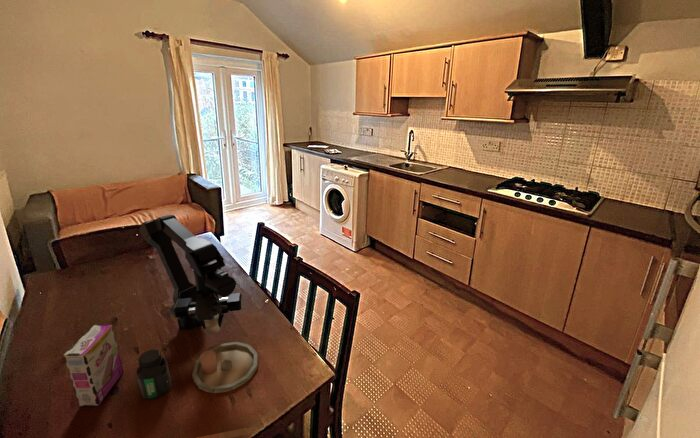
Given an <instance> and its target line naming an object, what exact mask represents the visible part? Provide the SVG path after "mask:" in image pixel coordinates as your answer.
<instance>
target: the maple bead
mask: <svg viewBox="0 0 700 438" xmlns="http://www.w3.org/2000/svg"><path fill="white" fill-rule="evenodd" d="M204 321H205V328H206V329H205V333H206V334H207V335H215V334H217V333H219V331H220V330H221V327H219V314H217V315H215V317H214V319H212V320H204Z"/></svg>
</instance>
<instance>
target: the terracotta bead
mask: <svg viewBox="0 0 700 438" xmlns="http://www.w3.org/2000/svg"><path fill="white" fill-rule="evenodd" d="M208 350H209V349H208ZM199 358H200V362H201V368H202V373H203V374H204V375H210V374H213V373H214V372H215V371H216V370H217V362H216V355H215V352H214V351H212V350H209V351H207V350H206V351H203V352H202V353H201V354H200V356H199Z"/></svg>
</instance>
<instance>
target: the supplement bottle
mask: <svg viewBox="0 0 700 438" xmlns="http://www.w3.org/2000/svg"><path fill="white" fill-rule="evenodd" d="M137 361H138V367H137V368H136V377H137V382H138V384H139V389H140V393H141V396H142V398H143V399H145V400H147V401H154V400H157V399H159V398H162V397H164V396H165V395H166V394H167V393H168V392H169V391H170V390H171V387H172V379H171V374H170V370H169V364H168V361H167V360H166V358H164V357H163V356H162V355H161V351H160V350H159V349H157V348H156V349H154V348H152V349H149V350H146V351H145V352H142V353H141V354H140V355H139V357H138V360H137Z"/></svg>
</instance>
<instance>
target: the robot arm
mask: <svg viewBox="0 0 700 438" xmlns="http://www.w3.org/2000/svg"><path fill="white" fill-rule="evenodd" d="M139 232H140V235H141V236H142V237H143V238H144V239H145V241H146V243H147V244H149V245H150V246H152V247H153V248H154V249H156V252H157V254H158V255H159V258H160V260H161V263H162V265H163V267H164V269H165V271H166V273H167V276H168V278H169V280H170V282H171V285H172V287H173V293H172V302H173V305H172V306H171V307H170V308H169V309H170V313H171V315H172V316H173V317H174V318H176V319H177V324H178V329H179V330H181V329H182V330H192V329H194V328H198V327H199V328H200V327H202V328H203V329H204V330H206V328H205V321H204V320H212V319H214V317H215V315H217V314H218V318H219V327H220V328H221V327H222V324H223V323H222V322H223V319H224V316H225V314H228V313H229V312H235V311H241V310H242V309H243V307H242V306H243V300H244V299H243V294H242V293H241V292H236V293H233V292H234V291H235V289H236V287H237V286H236V285H237V282H236V280H235V278H234V277H232V276H230V275H229V273H228V272H227V271H224V270H222V268H223V267H226V263H225V261H224V260H225V258H223V256H222V254H221V253H220V251H219V250H218V247H217V246H216V245H215V244H213V243H212V242H211V241H209V240H208V239H206V238H201V237H197V236H196V235H195V234H194V233H192V232H191V230H189V229H188V228H187V227H186V226H184V225H183V224H182V223H181V222H180V221H178V218H177V217H176V215H174V214H167V215H163V216H160V217H157V218H155V219H151V220H146V221H144V222H142V223H141V226H139ZM172 241H173V242H175V244H177V246H179V247H180V249H181V250H183V251H184V259H185V260H187V263H188V265H189V268H190V269H192V270H193V275H194V281H195V284H194V283H192V282H190V280H189V278H188V275H187V273H186V271H185V269H184V267H183V264H182V263H181V260H180V258H179V256H178V253H177V251H176V249H175V247H174V245H173V242H172ZM212 262H213V263H212ZM209 263H211V264H209ZM220 297H221V298H220Z"/></svg>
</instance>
